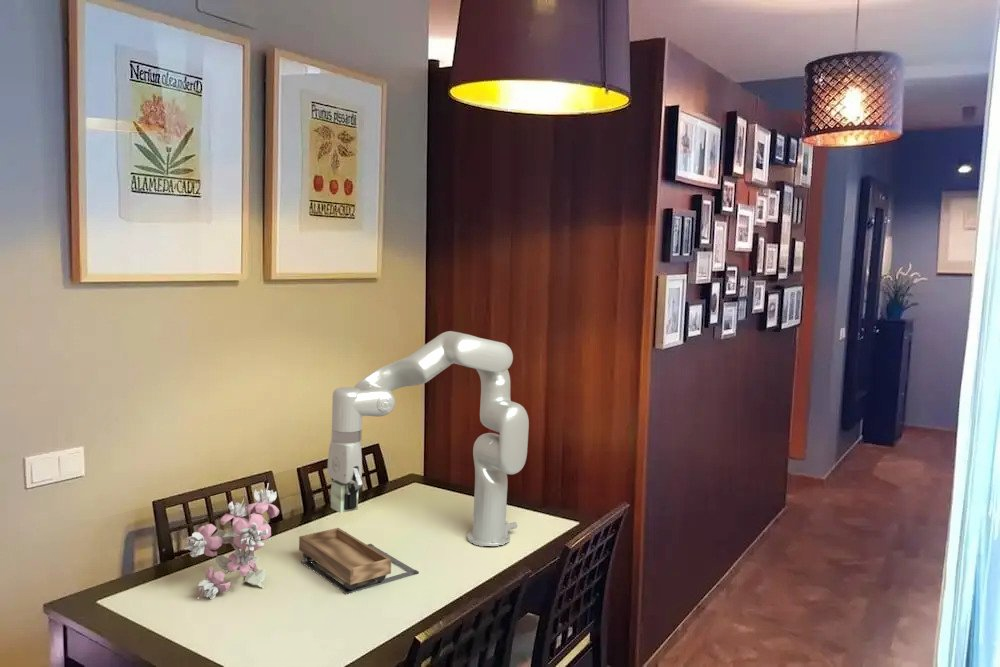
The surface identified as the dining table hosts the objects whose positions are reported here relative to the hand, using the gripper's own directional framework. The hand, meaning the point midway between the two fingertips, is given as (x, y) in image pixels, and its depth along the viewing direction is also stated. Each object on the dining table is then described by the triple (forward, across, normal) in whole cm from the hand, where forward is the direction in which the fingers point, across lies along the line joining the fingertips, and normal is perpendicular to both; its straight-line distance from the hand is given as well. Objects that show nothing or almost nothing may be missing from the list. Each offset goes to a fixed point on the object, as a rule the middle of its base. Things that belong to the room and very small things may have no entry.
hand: (344, 505), depth 198 cm
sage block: (+1, 0, 0) cm, 1 cm away
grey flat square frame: (+18, 0, +5) cm, 19 cm away
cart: (+18, 0, 0) cm, 18 cm away
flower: (+18, -6, -27) cm, 33 cm away
